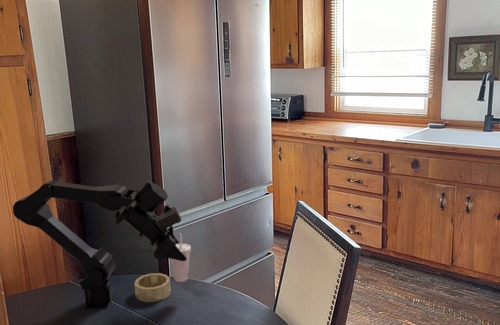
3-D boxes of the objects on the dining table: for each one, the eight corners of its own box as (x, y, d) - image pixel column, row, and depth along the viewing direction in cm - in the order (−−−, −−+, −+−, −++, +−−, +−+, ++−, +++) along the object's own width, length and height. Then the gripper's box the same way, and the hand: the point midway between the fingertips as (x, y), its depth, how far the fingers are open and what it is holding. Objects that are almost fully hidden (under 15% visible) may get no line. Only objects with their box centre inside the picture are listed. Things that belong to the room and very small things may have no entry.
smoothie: (180, 286, 131) (178, 238, 128) (165, 280, 134) (162, 233, 131) (196, 277, 135) (195, 231, 133) (181, 272, 139) (179, 227, 136)
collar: (133, 302, 134) (132, 289, 133) (139, 286, 144) (138, 274, 143) (168, 301, 135) (167, 288, 134) (171, 284, 145) (171, 272, 144)
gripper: (164, 210, 120) (208, 247, 125) (161, 191, 138) (199, 223, 143) (134, 242, 120) (179, 277, 125) (135, 218, 138) (174, 250, 143)
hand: (184, 255), depth 134 cm, fingers closed on smoothie, 6 cm apart
